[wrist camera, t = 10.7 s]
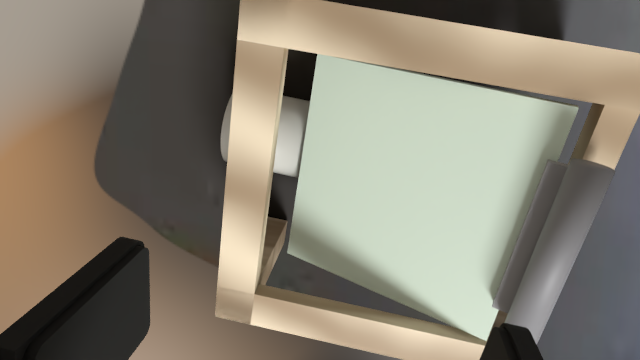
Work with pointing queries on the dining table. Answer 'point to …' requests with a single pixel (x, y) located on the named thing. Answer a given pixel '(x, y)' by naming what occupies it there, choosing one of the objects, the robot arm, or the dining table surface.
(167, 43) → the dining table surface
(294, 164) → the stone
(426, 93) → the trapdoor
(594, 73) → the trapdoor frame
